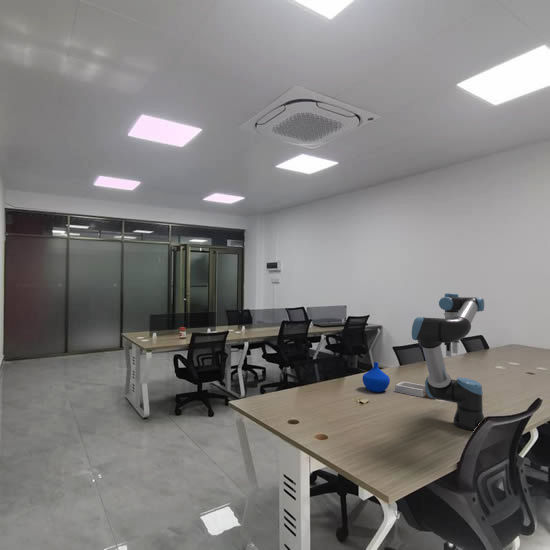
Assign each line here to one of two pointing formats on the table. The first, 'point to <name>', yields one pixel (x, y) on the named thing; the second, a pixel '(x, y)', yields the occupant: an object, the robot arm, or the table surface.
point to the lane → (410, 388)
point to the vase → (376, 379)
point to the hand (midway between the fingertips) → (451, 355)
